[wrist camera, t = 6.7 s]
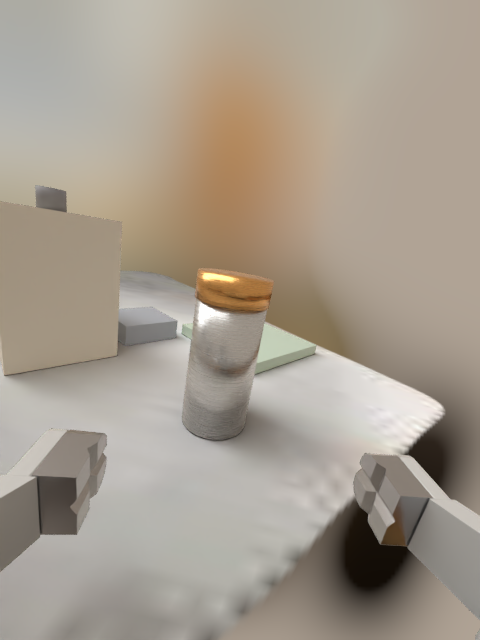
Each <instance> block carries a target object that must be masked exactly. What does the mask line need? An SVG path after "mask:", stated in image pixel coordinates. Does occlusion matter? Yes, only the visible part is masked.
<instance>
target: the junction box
mask: <svg viewBox="0 0 480 640" xmlns="http://www.w3.org/2000/svg"><path fill="white" fill-rule="evenodd" d="M35 189H36V207H32V206H26V205H20V204H14V203H8V202H2V201H0V361H1V365H2V369H3V372H4V376H5V375H10V374H16V373H22V372H27V371H33V370H39V369H45V368H50V367H56V366H62V365H67V364H73V363H79V362H85V361H90V360H96V359H102V358H107V357H113V356H117V345H118V317H119V290H120V261H121V234H122V222H120V221H114V220H108V219H102V218H96V217H91V216H85V215H79V214H73V213H67V212H66V211H67V210H66V191H63V190H58V189H54V188H49V187H44V186H38V185H36V186H35Z"/></svg>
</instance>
